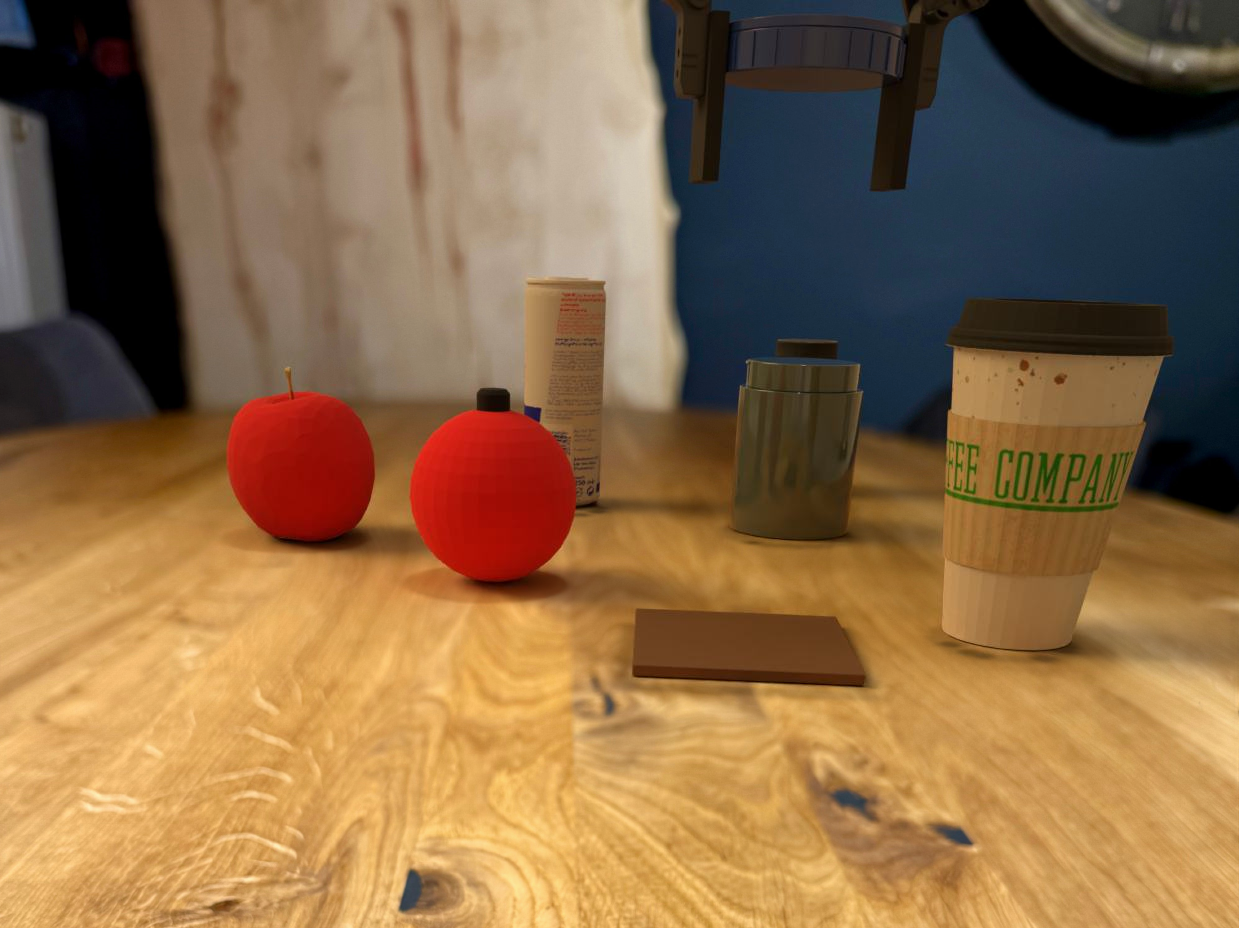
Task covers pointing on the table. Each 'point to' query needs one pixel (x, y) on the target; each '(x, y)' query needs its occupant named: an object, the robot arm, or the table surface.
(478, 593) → the table surface
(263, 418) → the fruit
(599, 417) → the beverage can
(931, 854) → the table surface
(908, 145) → the robot arm
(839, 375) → the jar
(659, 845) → the table surface
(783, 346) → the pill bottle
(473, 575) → the ornament
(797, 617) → the coaster
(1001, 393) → the coffee cup
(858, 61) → the lid
